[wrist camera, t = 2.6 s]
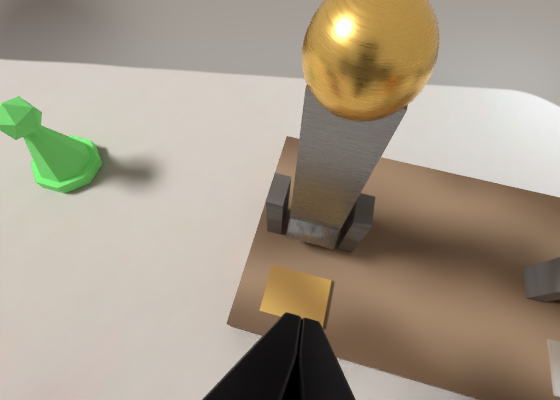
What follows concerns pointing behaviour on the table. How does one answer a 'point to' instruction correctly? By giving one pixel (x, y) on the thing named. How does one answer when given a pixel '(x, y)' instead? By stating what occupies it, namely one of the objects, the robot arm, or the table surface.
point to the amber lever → (354, 102)
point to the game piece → (50, 148)
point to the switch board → (420, 280)
